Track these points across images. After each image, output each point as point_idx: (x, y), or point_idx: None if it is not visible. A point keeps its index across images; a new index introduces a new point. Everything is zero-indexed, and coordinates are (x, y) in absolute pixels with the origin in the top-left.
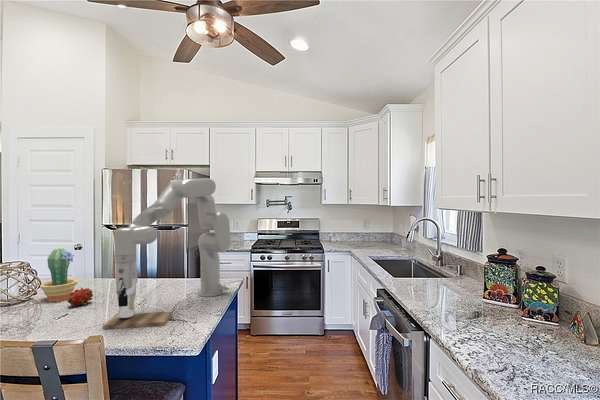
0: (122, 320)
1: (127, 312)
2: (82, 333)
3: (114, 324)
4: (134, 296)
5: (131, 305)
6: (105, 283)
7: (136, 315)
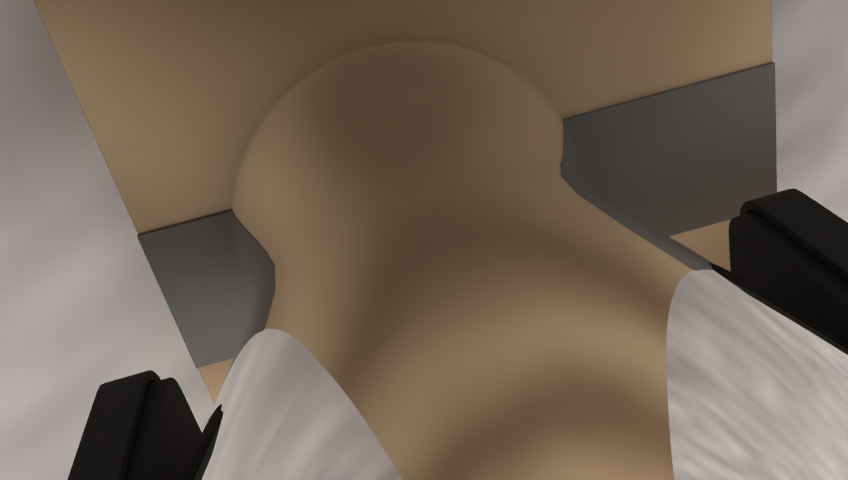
0: None
1: (576, 161)
2: None
3: (768, 189)
4: (534, 255)
5: (542, 167)
6: None
7: (245, 77)
